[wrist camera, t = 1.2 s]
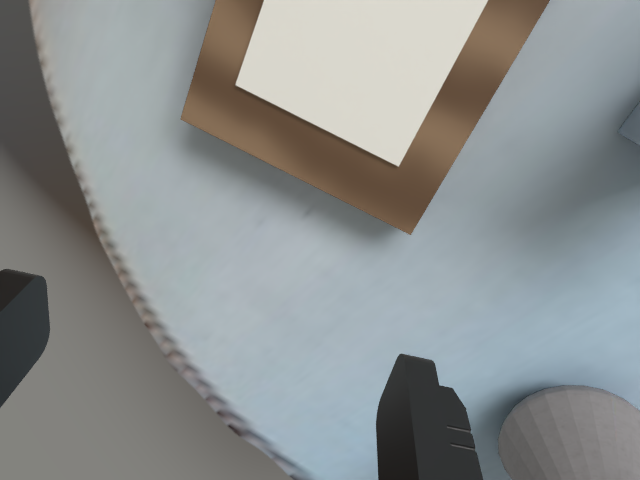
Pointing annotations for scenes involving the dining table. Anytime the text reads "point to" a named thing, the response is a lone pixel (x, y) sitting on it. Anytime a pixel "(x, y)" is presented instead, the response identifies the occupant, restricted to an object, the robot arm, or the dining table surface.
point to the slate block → (632, 126)
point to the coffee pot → (571, 436)
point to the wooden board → (356, 89)
